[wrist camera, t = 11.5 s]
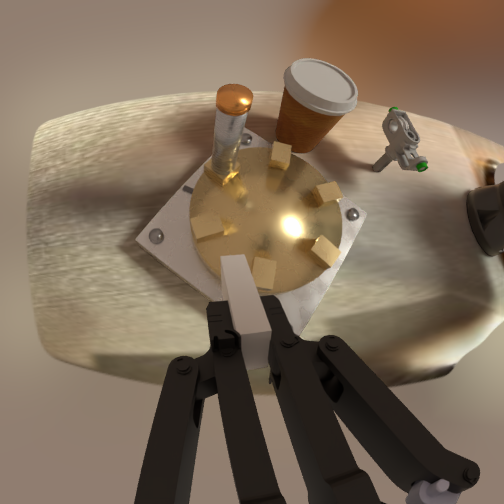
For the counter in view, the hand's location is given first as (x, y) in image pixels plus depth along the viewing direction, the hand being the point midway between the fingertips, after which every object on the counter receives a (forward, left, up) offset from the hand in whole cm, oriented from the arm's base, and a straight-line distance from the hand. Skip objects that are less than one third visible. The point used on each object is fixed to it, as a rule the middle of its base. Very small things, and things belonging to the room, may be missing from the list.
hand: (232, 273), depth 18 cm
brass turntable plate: (+1, -9, -10) cm, 14 cm away
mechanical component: (-8, -30, -13) cm, 34 cm away
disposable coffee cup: (+5, -25, -13) cm, 29 cm away
